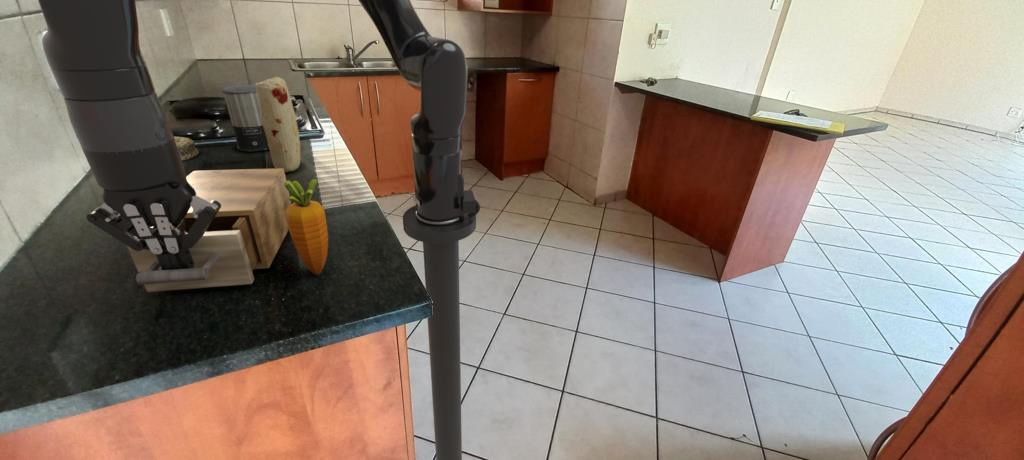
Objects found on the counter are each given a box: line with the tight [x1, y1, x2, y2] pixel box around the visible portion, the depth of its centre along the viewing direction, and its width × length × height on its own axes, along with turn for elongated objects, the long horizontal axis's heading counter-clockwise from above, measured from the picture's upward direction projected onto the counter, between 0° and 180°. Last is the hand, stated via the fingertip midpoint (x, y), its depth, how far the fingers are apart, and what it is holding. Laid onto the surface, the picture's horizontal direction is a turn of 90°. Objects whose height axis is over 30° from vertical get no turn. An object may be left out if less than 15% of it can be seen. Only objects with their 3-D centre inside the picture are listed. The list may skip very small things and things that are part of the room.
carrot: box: [284, 178, 329, 276], centre depth 58 cm, size 5×5×15 cm
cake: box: [173, 135, 200, 161], centre depth 101 cm, size 10×10×5 cm
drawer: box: [126, 215, 260, 293], centre depth 59 cm, size 20×12×8 cm, turn 12°
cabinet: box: [185, 168, 293, 270], centre depth 66 cm, size 17×14×10 cm
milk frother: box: [219, 84, 270, 152], centre depth 111 cm, size 14×16×15 cm
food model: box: [255, 76, 302, 173], centre depth 94 cm, size 10×7×20 cm
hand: (181, 274), depth 53 cm, fingers closed
